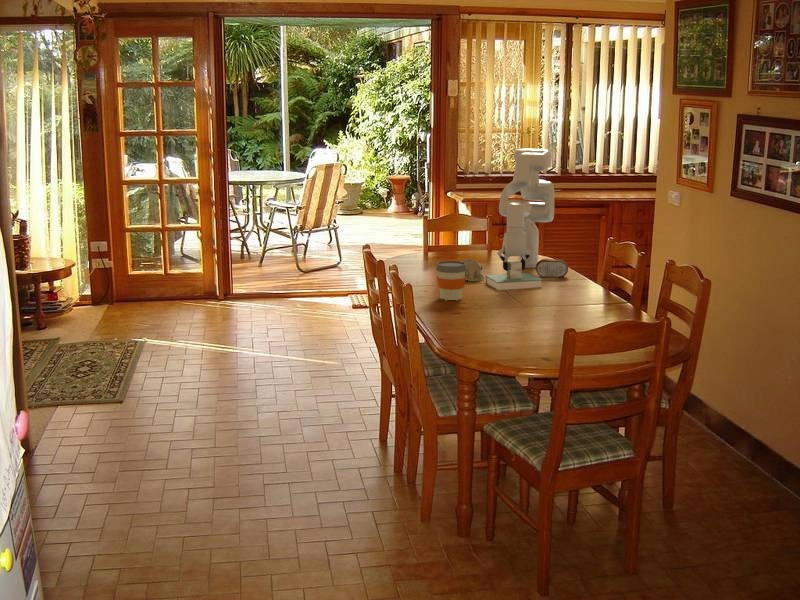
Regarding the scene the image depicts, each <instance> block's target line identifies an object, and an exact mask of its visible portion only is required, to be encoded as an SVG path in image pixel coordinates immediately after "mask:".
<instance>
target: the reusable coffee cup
mask: <svg viewBox="0 0 800 600" xmlns="http://www.w3.org/2000/svg"><path fill="white" fill-rule="evenodd" d="M436 271H437V276H436V280H437V281H436V282H437V287H438V288H439V296H440V297H439V298H440V300H442V299H445V300H444V301H447V300H456V301H460V300H462V299H461V298H463V291H464V288H465V284H466V280H465V271H466V263H464V262H461V261H459V260H443V261H438V262H437V264H436ZM459 299H460V300H459Z"/></svg>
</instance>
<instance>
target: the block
mask: <svg viewBox="0 0 800 600" xmlns="http://www.w3.org/2000/svg"><path fill="white" fill-rule="evenodd" d="M507 262H508V270H507V271H506V274H507V277H508V278H510V279H517V278H521V273H522V270H523V269H522V263H521V262H519V260H510V261H508V260H507Z"/></svg>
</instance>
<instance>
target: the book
mask: <svg viewBox="0 0 800 600" xmlns="http://www.w3.org/2000/svg"><path fill="white" fill-rule="evenodd" d="M542 282H543V279H542V278H540V277H538V276H537V275H534V274H532V273H530V272H521V278H517V279H510V278H508V277H507V273H505V274H488V275H485V284H486V283H487V284H488V286H489V285H490V287H491V286H492V287H491V288H493V289H494V288H495V289H494V290H496V289H497V290H496V291H510V290H511V289H512V290H525V289H540V287H542ZM487 284H486V285H487Z"/></svg>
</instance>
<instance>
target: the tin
mask: <svg viewBox="0 0 800 600" xmlns="http://www.w3.org/2000/svg"><path fill="white" fill-rule="evenodd" d="M535 271H536V273H537V275H538V276H540V277H542V278H554V277H561V278H564V277H565V276H566V275H567V274H568V271H569V265H568V263H567V262H566V261H565V260H564V259H555V258H554V259H553V258H551V259H549V258H543V259H542V258H541V259H540V260H538V263H537V264H536V268H535Z"/></svg>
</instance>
